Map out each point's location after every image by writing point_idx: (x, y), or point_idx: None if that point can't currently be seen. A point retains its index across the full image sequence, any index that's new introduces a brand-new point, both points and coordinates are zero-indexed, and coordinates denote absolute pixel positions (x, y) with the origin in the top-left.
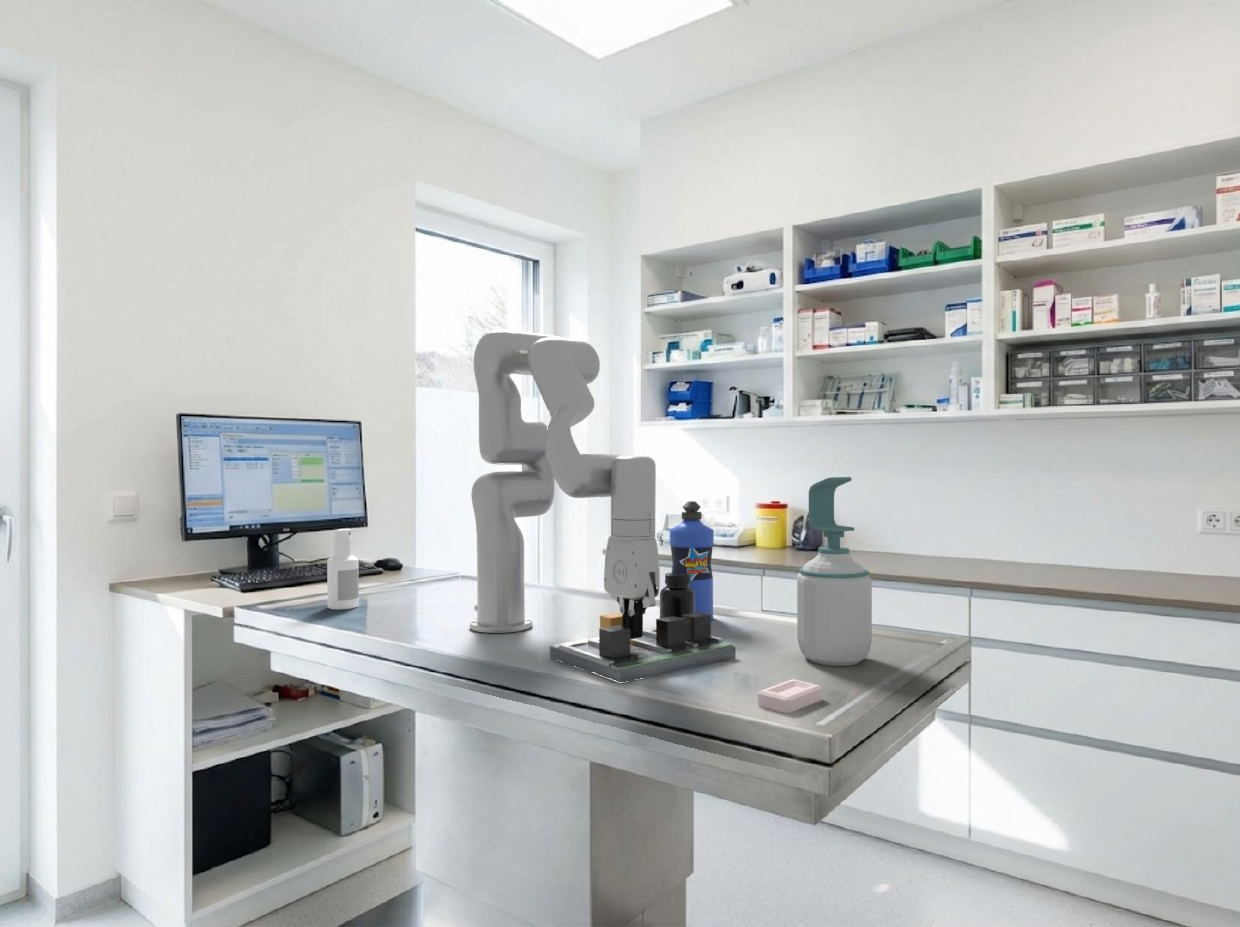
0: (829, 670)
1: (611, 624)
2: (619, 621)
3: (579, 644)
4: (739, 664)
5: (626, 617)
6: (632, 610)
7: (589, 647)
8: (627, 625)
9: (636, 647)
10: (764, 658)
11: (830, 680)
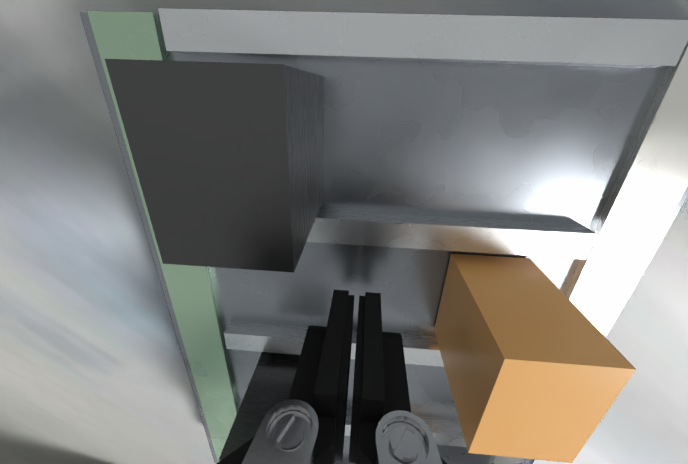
0: (70, 458)
1: (485, 332)
2: (475, 383)
3: (617, 186)
4: (178, 407)
5: (334, 382)
6: (260, 448)
7: (538, 193)
8: (329, 338)
9: None
10: (196, 455)
11: (5, 422)
